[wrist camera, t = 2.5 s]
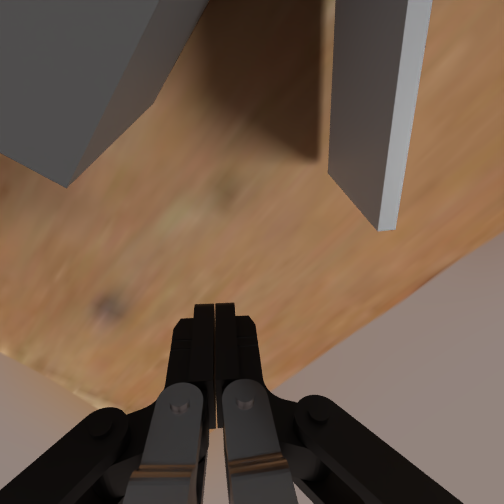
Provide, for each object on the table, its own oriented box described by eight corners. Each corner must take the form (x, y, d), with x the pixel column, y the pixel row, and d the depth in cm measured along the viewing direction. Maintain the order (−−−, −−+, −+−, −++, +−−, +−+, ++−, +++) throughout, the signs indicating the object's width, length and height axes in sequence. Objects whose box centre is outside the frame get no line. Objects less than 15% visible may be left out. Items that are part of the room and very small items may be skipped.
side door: (327, 173, 19) (376, 231, 13) (344, -235, 12) (473, -511, 6) (350, 171, 20) (410, 227, 14) (383, -237, 12) (548, -512, 6)
